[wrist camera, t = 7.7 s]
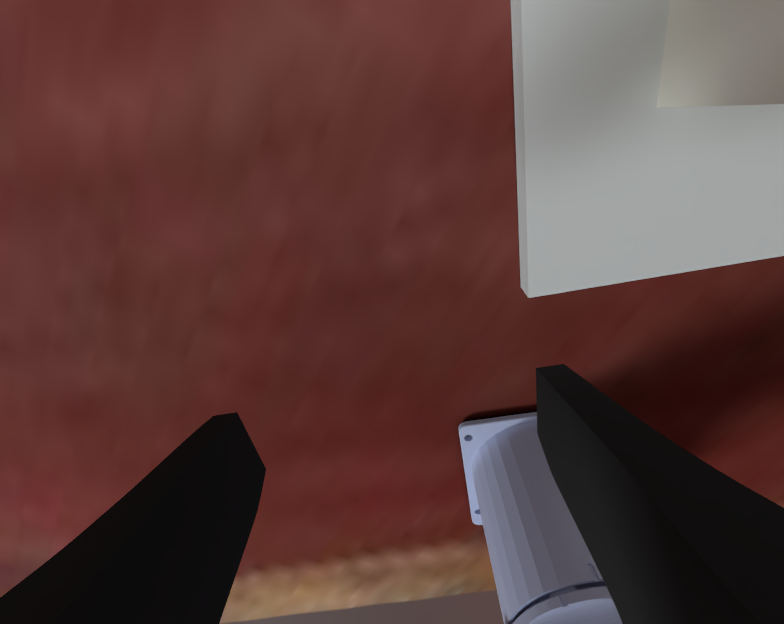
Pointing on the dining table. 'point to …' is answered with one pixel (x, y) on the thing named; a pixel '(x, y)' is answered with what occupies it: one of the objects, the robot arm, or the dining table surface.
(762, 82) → the cream rectangular prism
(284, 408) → the dining table surface
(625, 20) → the light gray slab
